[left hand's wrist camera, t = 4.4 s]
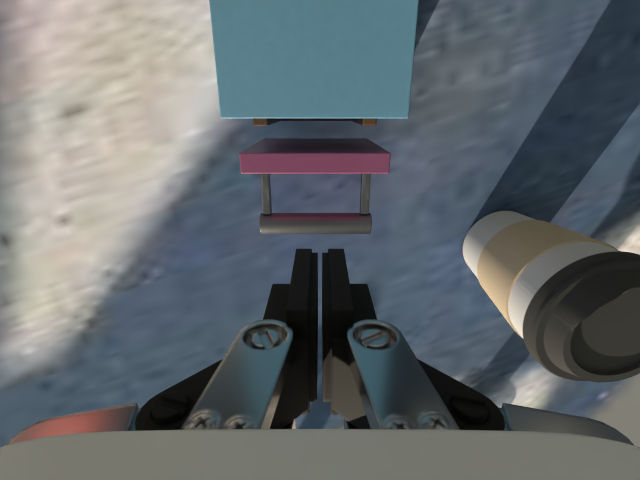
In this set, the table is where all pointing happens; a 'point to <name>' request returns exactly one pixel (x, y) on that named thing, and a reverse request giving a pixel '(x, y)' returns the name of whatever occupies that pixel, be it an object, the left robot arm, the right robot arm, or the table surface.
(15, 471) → the left robot arm
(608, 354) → the coffee cup
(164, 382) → the table surface
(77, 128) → the table surface
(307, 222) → the drawer
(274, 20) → the light blue storage box
